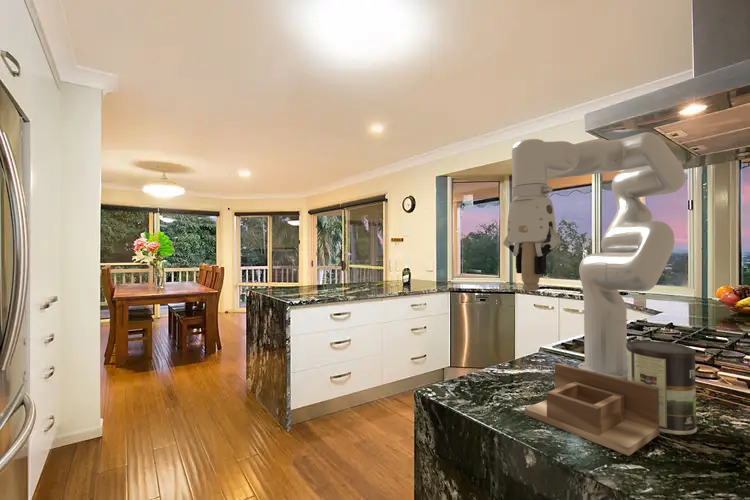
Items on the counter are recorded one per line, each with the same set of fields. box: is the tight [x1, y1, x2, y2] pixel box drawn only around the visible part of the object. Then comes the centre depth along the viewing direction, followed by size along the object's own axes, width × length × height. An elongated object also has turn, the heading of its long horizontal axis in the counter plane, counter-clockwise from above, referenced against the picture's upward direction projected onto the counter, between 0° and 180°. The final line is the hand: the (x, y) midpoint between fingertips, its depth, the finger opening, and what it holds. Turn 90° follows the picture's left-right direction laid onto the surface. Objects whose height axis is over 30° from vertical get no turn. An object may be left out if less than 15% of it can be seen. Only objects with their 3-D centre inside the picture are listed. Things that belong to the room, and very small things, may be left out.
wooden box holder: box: [524, 362, 660, 457], centre depth 68 cm, size 12×18×8 cm, turn 34°
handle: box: [518, 225, 541, 292], centre depth 85 cm, size 5×6×15 cm
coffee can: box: [626, 339, 698, 436], centre depth 69 cm, size 10×10×14 cm
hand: (530, 272), depth 85 cm, fingers closed on handle, 4 cm apart
